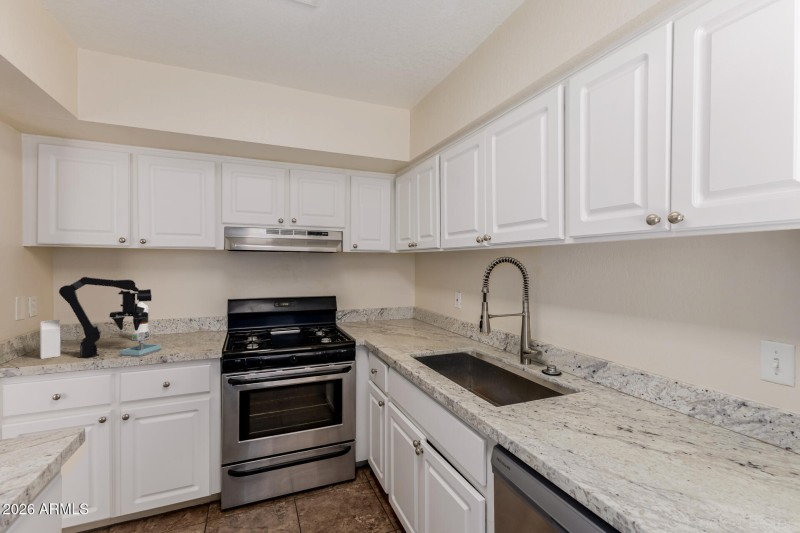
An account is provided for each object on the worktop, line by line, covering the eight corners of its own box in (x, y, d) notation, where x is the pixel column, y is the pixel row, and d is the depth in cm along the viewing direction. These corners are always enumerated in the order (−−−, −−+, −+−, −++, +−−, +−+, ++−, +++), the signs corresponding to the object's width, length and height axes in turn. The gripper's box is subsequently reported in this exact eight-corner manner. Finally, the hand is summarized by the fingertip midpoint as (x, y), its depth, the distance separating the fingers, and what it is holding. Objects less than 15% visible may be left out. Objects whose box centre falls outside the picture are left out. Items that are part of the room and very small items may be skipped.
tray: (120, 356, 189) (120, 350, 189) (143, 349, 204) (143, 344, 204) (139, 357, 188) (139, 351, 188) (161, 350, 203) (161, 344, 203)
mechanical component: (151, 348, 201) (151, 331, 201) (135, 353, 191) (135, 334, 191) (146, 348, 201) (146, 331, 201) (130, 353, 191) (130, 334, 191)
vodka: (153, 338, 233) (153, 292, 233) (138, 341, 224) (139, 293, 224) (142, 337, 236) (142, 292, 235) (128, 340, 227) (128, 293, 227)
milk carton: (60, 356, 188) (60, 320, 188) (41, 359, 182) (41, 322, 182) (58, 354, 193) (58, 319, 192) (40, 356, 187) (40, 320, 187)
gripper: (155, 301, 206) (155, 328, 206) (126, 300, 208) (126, 327, 208) (139, 303, 195) (139, 331, 195) (108, 302, 197) (108, 330, 197)
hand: (128, 330), depth 199 cm, fingers open, 9 cm apart
